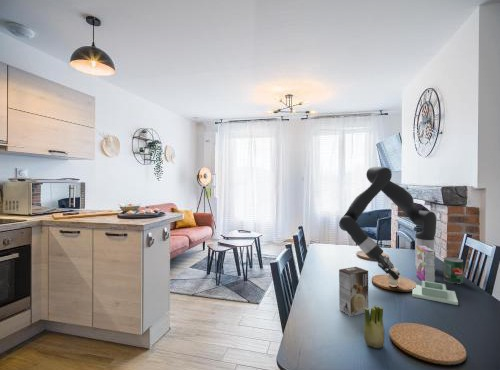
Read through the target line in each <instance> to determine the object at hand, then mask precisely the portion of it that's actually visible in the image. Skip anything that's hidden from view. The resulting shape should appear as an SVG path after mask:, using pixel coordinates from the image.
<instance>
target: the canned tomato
mask: <svg viewBox="0 0 500 370" xmlns="http://www.w3.org/2000/svg"><path fill="white" fill-rule="evenodd" d="M443 281H444V282H446V283H449V284H454V283H457V285H459V284H460V285H462V284H463V283H464V260H463V259H460V258H458V257H452V256H451V257H449V256H446V257H445V256H444V257H443ZM461 283H462V284H461Z"/></svg>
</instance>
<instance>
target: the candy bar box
mask: <svg viewBox="0 0 500 370" xmlns="http://www.w3.org/2000/svg"><path fill="white" fill-rule="evenodd" d="M415 276H416V277H417V278H418V279H419V280H421V282H422V281H429V282H435V283H436V251H435V250H434V251H433V250H432V249H430V248H428V247H427V246H416V267H415Z"/></svg>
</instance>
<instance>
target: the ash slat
mask: <svg viewBox="0 0 500 370" xmlns="http://www.w3.org/2000/svg"><path fill="white" fill-rule="evenodd" d="M391 269H392V270H393V271H394V272H395V273H396V274H397V275H398V272H399V268H396V267H394V268H391ZM389 284H391V285H396V286H397V284H399V278H398V279H397V280H395V279H394V278H393V277H392V276H391V275H390V274H388V285H389Z"/></svg>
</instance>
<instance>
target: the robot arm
mask: <svg viewBox="0 0 500 370" xmlns="http://www.w3.org/2000/svg"><path fill="white" fill-rule="evenodd" d="M392 176H393V174H392V171H391V169H390V168H388V167H385V166H371V167H370V168H368V169H367V171H366V178H367V180H368V182H369V183H370V186H368V187H367V188H366V189H365V190H363V191H362V192H361V193H360V194H358V195H357V196H356V197H355V199H354V200H353V201H352V202H351V204H350V205H349V207H348V209H347V211H346V212H345V214H344V215H343V216H342V217H341V218H340V220H339V222H338V226H339V228H340V229H341V230H342V231H344V232H347V234H348V235H349V236H350V237H351V240H352V241H353V242H354V243H355V244H356V245H357V246H358V247H359V249H360V250H361V251H362V252H363V254H364V255H366V256H367V258H368V259H369V260H370V261H374V260H376V262H377V266H378V267H379V268H380V269H381V270H383V272H384V273H385V274H386V275H387V274H388V275H389V274H390V275H391V276H392V277H393V278H394V279H395V280H397V279H398V280H399V278H400V275H401V274H400V272H399V271H398V275H397V274H396V273H395V272H394V271H393V270H392V269H391V268H395V267H394V264H393V263H392V262H391V260H390V259H389V258H388V257H387V256H386V255H383V253H384V250H383V249H382V248H381V247H380V246H379V244H378V243H377V242H376V241H374V240H373V239H372V237H370V236H369V235H368V234H367V233H366V232H365V231H364V230H363V229H362V228H361V226H360V225H359V224H358V222H357V221H358V219H359V218H360V217H361V215H362V214H363V213H364V212H365V210H366V209H367V207H368V206H369V204H370V203H371V202H372V200H373V199H375V197H376V196H377V195H378V194H380V192H382V193H383V194H384V195H386V197H387V198H388V199H390V200H391V201H392V203H393V204H395V206H397V207H398V208H399V209H400V210H401V211H402V212H404V214H406V216H407V217H408V219H410V221H411V222H412V223H413V224H414V225H415V226H419V227H422V228H423V230H422V231H418V232H416V233H415V240H414V241H415V243H414V244H415V247H414V248H415V249H414V257H415V259H414V261H415V262H414V263H415V264H414V266H415V268H416V246H427V247H428V248H430V249H432V250H433V251H435V236H436V232H437V215H436V214H435V212H433V211H431V210H430V211H429V210H421V209H418V208H417V206H415V205H414V203H415V202H414V197H413V196H412V195H411V193H410V192H409V191H408V190H406V188H404V187H402V186H400V185H398V184H397V183H395V182H393V181H391V179H392Z"/></svg>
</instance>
